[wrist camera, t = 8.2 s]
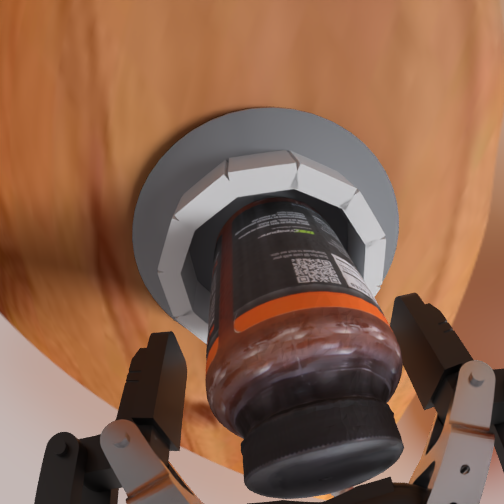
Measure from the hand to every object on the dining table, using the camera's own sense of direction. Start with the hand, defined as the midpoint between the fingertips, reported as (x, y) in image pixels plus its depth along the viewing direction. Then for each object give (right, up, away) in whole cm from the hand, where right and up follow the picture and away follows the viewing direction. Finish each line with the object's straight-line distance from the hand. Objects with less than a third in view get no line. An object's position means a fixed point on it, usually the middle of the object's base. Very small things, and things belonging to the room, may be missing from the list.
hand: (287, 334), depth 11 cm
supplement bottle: (0, +3, +5) cm, 6 cm away
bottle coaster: (0, +3, +6) cm, 7 cm away
